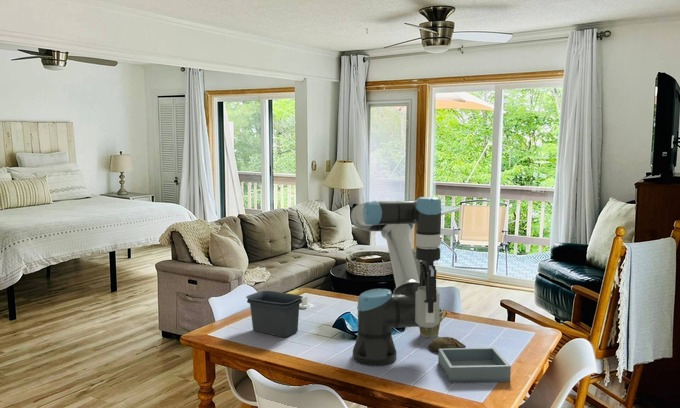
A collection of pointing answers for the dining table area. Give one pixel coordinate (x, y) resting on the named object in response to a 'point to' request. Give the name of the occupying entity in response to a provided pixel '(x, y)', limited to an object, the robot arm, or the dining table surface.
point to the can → (421, 308)
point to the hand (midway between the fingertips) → (427, 318)
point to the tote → (473, 365)
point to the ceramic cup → (434, 330)
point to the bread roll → (444, 344)
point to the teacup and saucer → (305, 303)
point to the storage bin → (274, 312)
